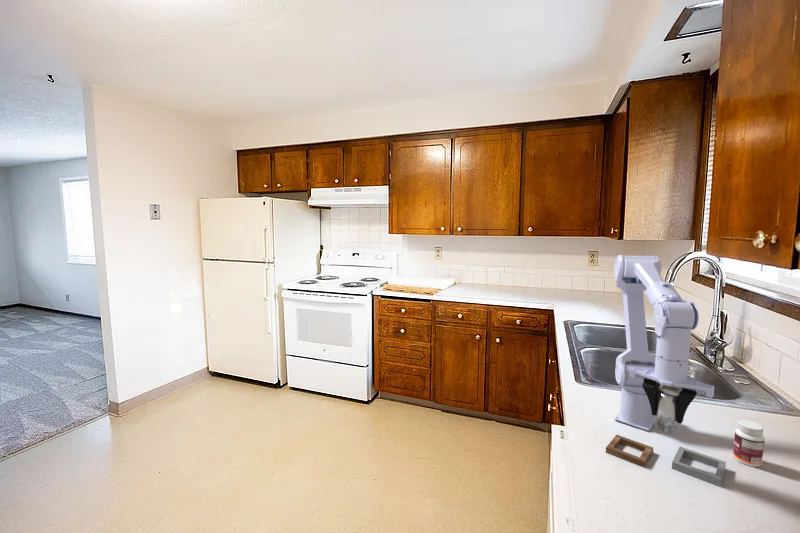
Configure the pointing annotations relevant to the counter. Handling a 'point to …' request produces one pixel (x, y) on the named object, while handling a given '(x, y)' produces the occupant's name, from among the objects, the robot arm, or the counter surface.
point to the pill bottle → (749, 443)
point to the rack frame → (699, 473)
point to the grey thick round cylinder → (667, 411)
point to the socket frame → (626, 456)
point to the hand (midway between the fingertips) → (667, 417)
